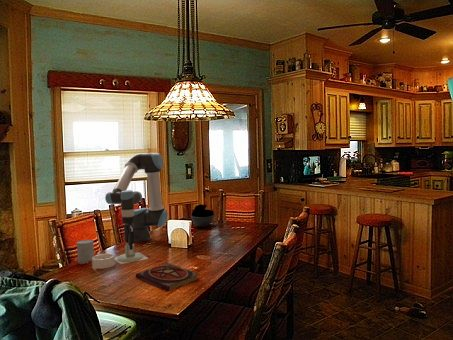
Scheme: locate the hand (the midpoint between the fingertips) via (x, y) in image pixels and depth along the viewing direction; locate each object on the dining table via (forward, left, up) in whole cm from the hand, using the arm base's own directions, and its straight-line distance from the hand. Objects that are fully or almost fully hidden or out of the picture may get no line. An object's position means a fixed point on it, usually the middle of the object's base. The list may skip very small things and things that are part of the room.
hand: (130, 253), depth 226 cm
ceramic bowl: (+17, +4, -4) cm, 18 cm away
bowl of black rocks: (-80, -52, -4) cm, 95 cm away
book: (-5, +45, -4) cm, 46 cm away
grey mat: (0, 0, -4) cm, 4 cm away
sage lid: (0, 0, -3) cm, 3 cm away
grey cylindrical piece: (+23, -14, -4) cm, 27 cm away
